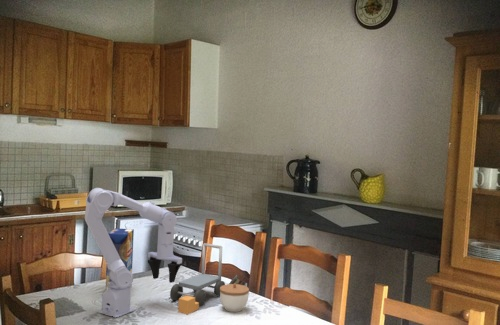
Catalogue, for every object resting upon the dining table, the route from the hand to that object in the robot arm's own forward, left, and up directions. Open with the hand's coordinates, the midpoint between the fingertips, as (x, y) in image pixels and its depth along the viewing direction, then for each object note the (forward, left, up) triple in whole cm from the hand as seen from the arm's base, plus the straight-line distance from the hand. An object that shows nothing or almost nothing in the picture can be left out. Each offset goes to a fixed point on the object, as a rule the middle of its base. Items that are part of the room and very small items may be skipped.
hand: (163, 280), depth 173 cm
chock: (+1, -11, -10) cm, 14 cm away
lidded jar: (+12, -23, -10) cm, 28 cm away
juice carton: (+2, +24, -10) cm, 26 cm away
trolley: (+16, -6, -9) cm, 19 cm away
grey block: (+28, -15, -10) cm, 33 cm away
